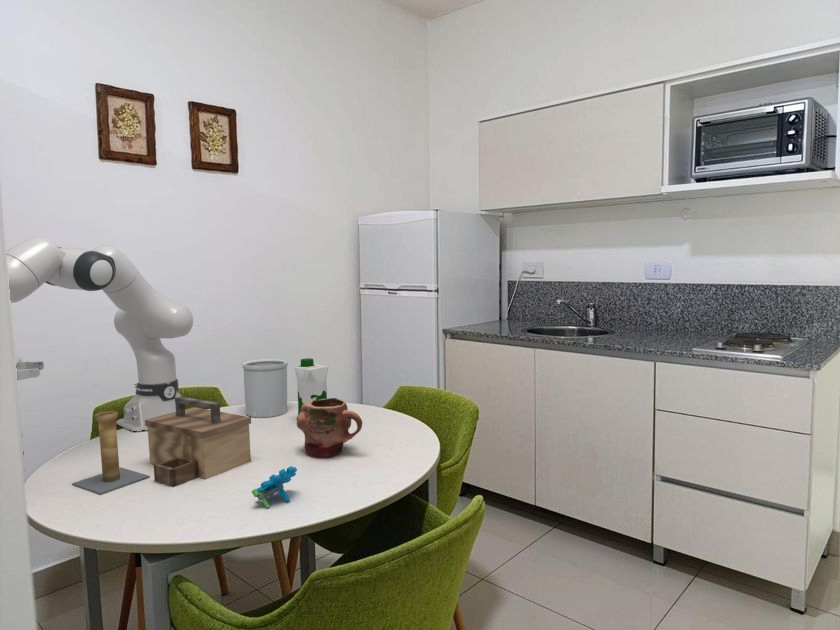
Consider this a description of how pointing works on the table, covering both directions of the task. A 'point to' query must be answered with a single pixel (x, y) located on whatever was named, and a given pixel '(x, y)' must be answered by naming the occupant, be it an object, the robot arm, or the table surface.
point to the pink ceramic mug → (326, 426)
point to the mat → (101, 487)
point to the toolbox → (196, 442)
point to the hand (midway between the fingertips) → (41, 368)
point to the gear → (275, 485)
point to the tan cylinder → (108, 445)
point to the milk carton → (310, 382)
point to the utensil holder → (265, 387)
